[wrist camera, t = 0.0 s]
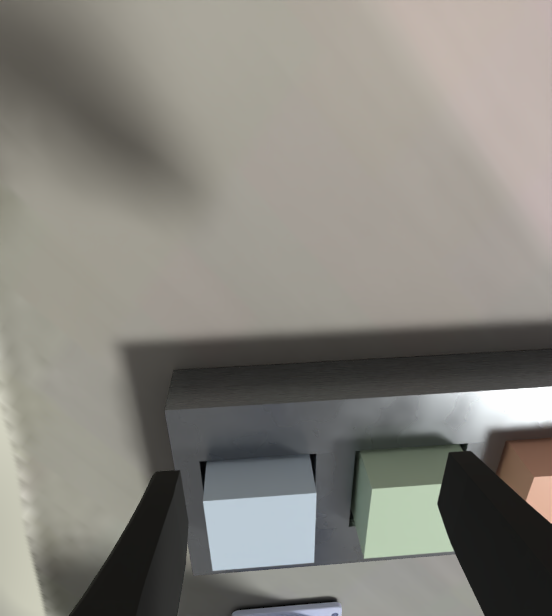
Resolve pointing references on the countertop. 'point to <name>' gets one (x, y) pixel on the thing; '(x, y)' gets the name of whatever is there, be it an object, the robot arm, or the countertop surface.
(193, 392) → the button panel
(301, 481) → the blue-grey button
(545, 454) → the terracotta button
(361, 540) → the sage button
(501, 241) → the countertop surface
